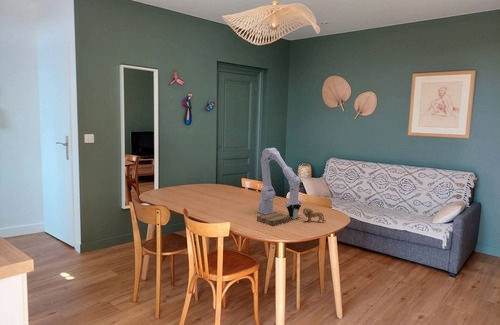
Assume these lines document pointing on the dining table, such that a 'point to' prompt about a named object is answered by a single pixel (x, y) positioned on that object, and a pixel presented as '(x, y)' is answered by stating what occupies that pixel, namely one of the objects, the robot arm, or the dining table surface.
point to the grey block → (295, 214)
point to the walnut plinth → (273, 218)
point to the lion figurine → (313, 214)
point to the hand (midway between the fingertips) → (293, 216)
